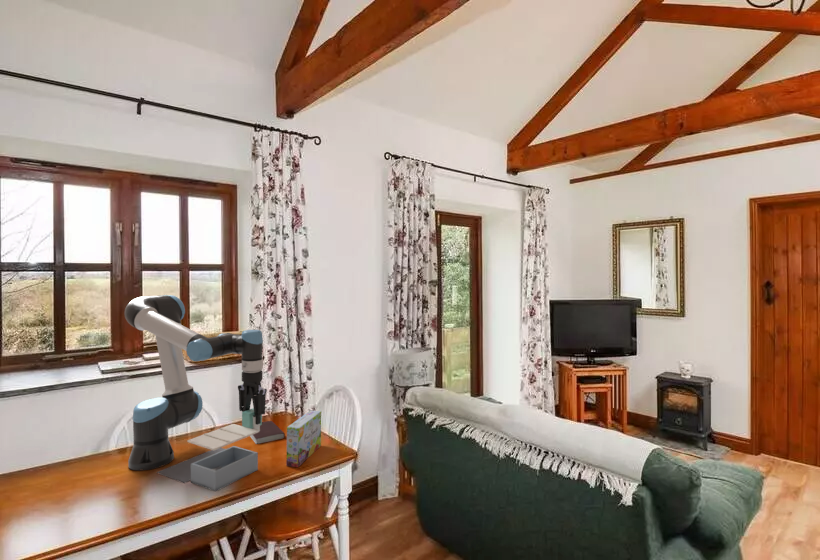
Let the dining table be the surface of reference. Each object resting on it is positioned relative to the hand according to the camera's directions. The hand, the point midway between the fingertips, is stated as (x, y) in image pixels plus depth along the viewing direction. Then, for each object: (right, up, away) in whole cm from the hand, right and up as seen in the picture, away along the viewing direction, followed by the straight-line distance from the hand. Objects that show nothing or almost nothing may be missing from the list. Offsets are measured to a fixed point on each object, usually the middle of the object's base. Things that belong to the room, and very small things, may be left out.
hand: (252, 430), depth 168 cm
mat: (-18, -12, -1) cm, 22 cm away
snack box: (+19, -12, +6) cm, 23 cm away
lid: (-5, +2, -8) cm, 10 cm away
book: (-5, -12, +29) cm, 32 cm away
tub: (-6, -12, -11) cm, 17 cm away
